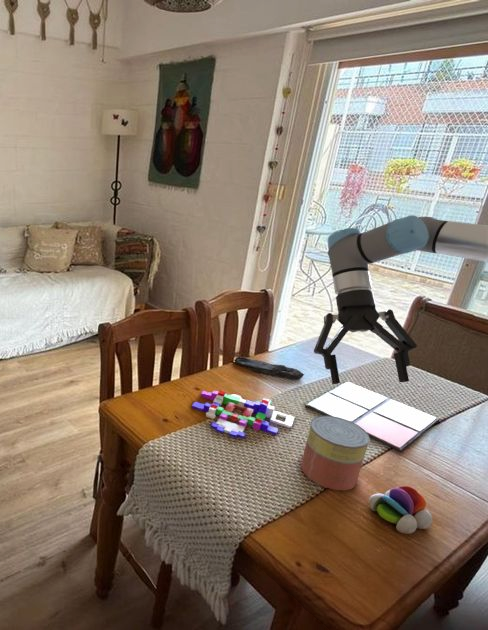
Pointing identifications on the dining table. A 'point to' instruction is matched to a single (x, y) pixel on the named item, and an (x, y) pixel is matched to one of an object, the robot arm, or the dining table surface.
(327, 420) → the canned food
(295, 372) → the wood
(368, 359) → the dining table surface
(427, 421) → the board
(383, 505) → the rainbow cloud toy
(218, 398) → the building block set
